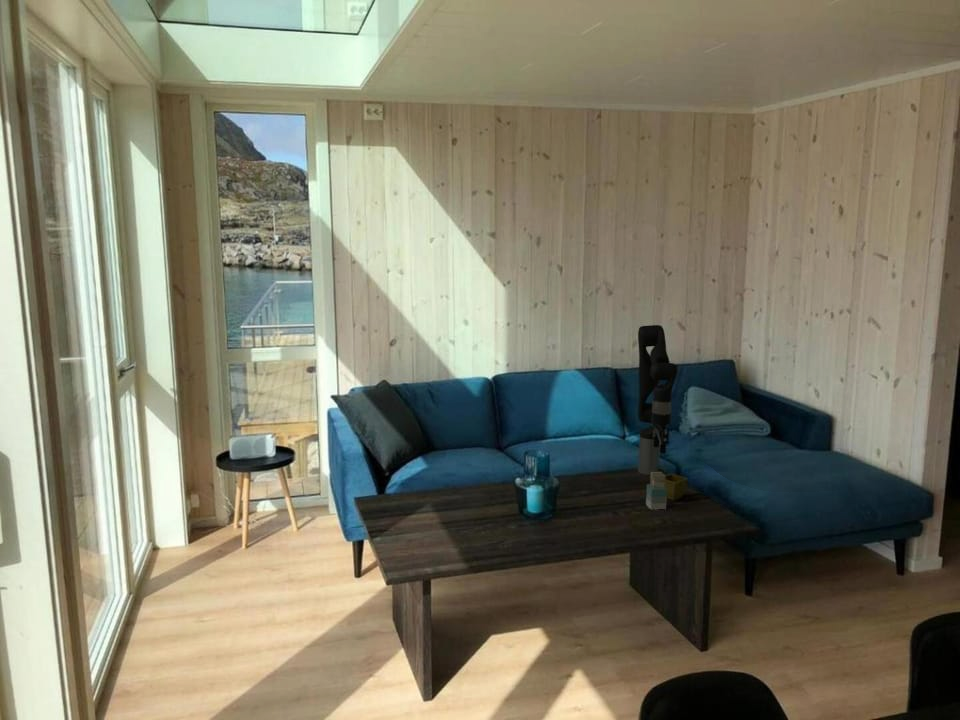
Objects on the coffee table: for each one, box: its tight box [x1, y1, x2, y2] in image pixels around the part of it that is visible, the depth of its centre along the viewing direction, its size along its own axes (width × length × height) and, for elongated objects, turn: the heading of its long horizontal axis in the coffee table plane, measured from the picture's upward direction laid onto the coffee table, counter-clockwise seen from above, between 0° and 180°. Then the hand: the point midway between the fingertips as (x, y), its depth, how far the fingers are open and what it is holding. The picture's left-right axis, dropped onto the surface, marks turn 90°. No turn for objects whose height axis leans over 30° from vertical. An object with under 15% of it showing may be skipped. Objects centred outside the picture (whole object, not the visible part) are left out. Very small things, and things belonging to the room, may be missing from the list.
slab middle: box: [646, 491, 668, 504], centre depth 316 cm, size 6×6×3 cm
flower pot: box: [665, 473, 688, 501], centre depth 327 cm, size 9×9×9 cm
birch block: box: [649, 471, 666, 489], centre depth 315 cm, size 5×5×6 cm
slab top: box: [646, 483, 667, 497], centre depth 316 cm, size 6×6×3 cm
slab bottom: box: [645, 497, 667, 511], centre depth 317 cm, size 6×6×3 cm
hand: (659, 450), depth 313 cm, fingers open, 8 cm apart
